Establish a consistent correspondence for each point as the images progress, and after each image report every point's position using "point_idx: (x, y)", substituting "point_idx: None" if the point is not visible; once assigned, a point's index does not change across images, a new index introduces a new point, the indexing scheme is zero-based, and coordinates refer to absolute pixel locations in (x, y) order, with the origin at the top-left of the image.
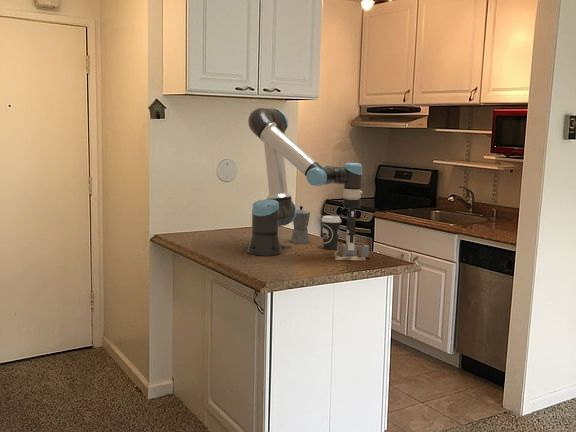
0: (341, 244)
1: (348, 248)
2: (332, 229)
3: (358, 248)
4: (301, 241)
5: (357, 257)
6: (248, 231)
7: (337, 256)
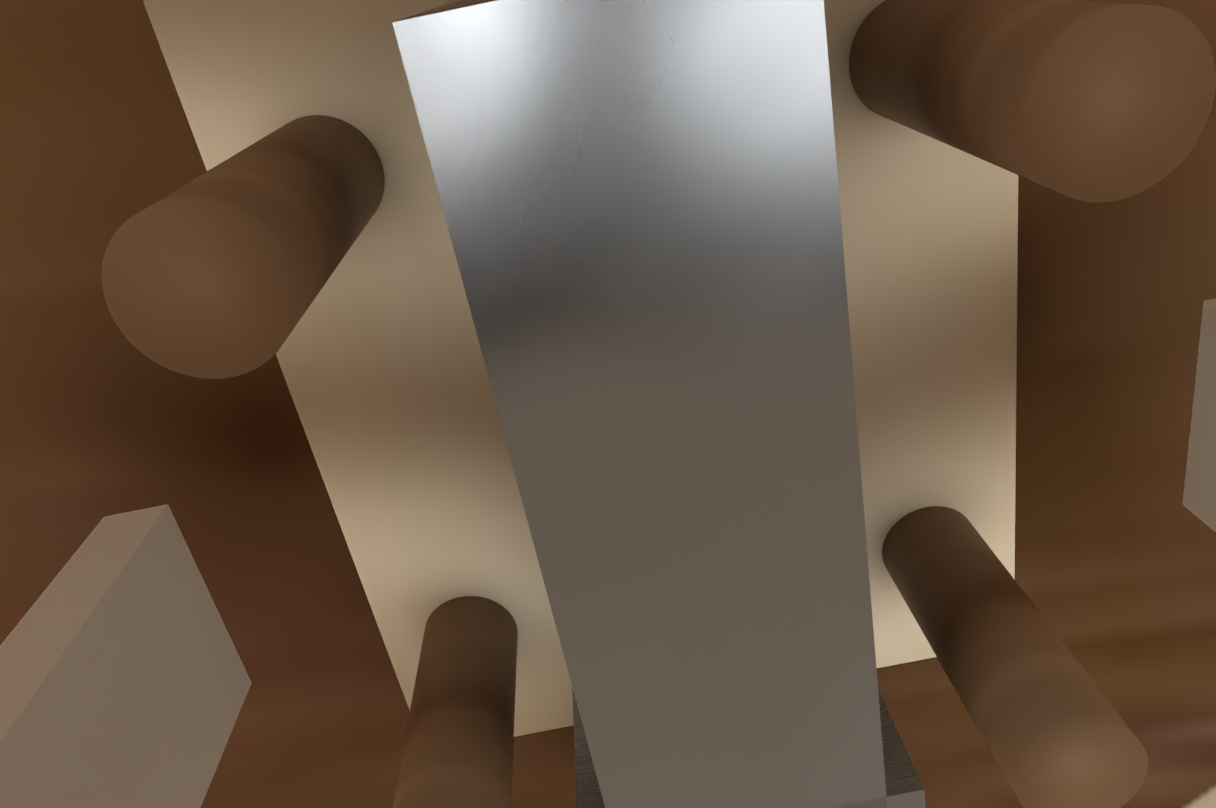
0: (809, 182)
1: (84, 570)
2: None
3: (406, 800)
4: None
5: (435, 596)
6: None
7: (303, 52)
